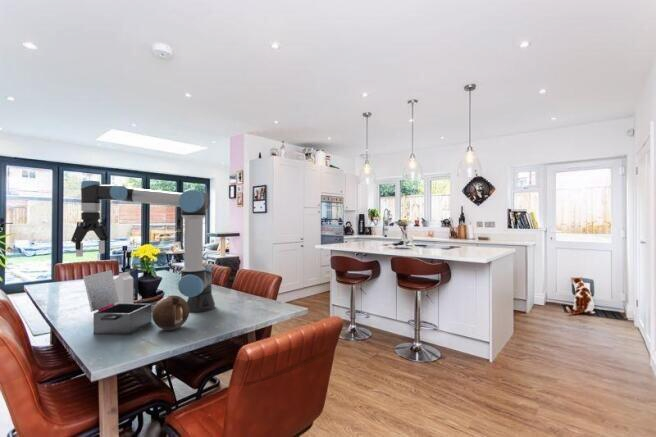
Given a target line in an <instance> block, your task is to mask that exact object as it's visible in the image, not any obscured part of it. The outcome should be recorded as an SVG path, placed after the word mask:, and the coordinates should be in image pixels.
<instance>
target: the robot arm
mask: <svg viewBox="0 0 656 437" xmlns="http://www.w3.org/2000/svg"><path fill="white" fill-rule="evenodd" d="M80 184H81V185H80V191H81V192H80V199H81V201H80V203H81V204H80V206H81V210H80V211H81V214H80V216H81V217H80V220H82V221H76V227H75V228H74V229H75V230H74V232H73V234H72V237H71V242H72V243H74V244H75V250H76V251H75V257H76V258H77V257H79V258H82V257H84V242H82V241H83V240H84V239H85V237H86V236H87V233H89V232H94V233H95V235H96V237H97V238H98V254H105V252H106V249H105V248H106V241H108V239H109V236H108V233H107V230H106V226H105V225H104V224H105V223H104V221H99V220H100V219H101V213H100V212H101V201H118V202H119V201H121V202H129V203H138V204H139V203H141V204H149V205H160V206H168V207H179V208H180V209H181V211H180V212H181V217H182V218H183V219H184V245H183V247H184V249H183V250H184V254H183V255H184V261H183V262H184V265H183V267H182V268H181V269H180V278H179V280H178V285H177V288H178V291H179V292H180V294H181V295H182V296H185V297H187V301H186V302H187V304H188V306H189V313H199V312H200V313H201V312H207V311H211V310H214V309H215V308H216V303H215V300H214V296H213V294H212V293H213V292H212V291H213V290H212V289H213V288H212V284H213V281H212V280H213V279H212V278H213V277H212V273H213V272H212V269H213V268H212V267H210V266H203V251H204V250H203V249H204V248H203V244H204V243H203V232H204V231H203V230H204V229H203V227H204V225H203V224H204V219H205V218H206V217H207V210H208V208H209V207H210V204H211V203H210V202H211V200H210V197H209V195H208V194H207V193H206V192H204V191H202V190H199V189H197V188H189V189H185V190H184V191H183V192H173V191H163V190H155V189H154V190H153V189H146V188H145V189H144V188H136V187H126V186H125V185H124V184H123V185H122V184H101V182H100V181H99V180H90V179H89V180H87V179H86V180H82V181H81V182H80Z"/></svg>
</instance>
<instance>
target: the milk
mask: <svg viewBox="0 0 656 437" xmlns="http://www.w3.org/2000/svg"><path fill="white" fill-rule="evenodd" d="M129 273H130V272H129V271H126V272H125V271H124V272H121V273H118V276H117V277H116V278H114V282H115V287H116V291H117V296H118V300H119V302H116V303H114V304H113V306H114V305H116V304H134V277H133V276H132V275H130V274H129Z"/></svg>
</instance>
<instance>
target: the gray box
mask: <svg viewBox="0 0 656 437" xmlns="http://www.w3.org/2000/svg"><path fill="white" fill-rule="evenodd" d="M150 324H152V304H151V303H133V304H116V305H114V304H113V306H111V307H109V308H106V309H104V310H101V311H98V310H97V311H95V312H94V313H93V335H112V336H113V335H114V336H115V335H121V336H123V335H124V336H125V335H126V336H130V335H132V334H134V333H135V332H138V331H139V330H141V329H143V328H145V327H147V326H148V325H150Z"/></svg>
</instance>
